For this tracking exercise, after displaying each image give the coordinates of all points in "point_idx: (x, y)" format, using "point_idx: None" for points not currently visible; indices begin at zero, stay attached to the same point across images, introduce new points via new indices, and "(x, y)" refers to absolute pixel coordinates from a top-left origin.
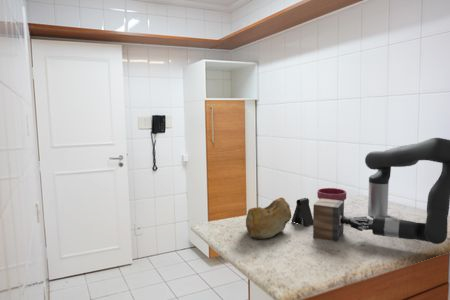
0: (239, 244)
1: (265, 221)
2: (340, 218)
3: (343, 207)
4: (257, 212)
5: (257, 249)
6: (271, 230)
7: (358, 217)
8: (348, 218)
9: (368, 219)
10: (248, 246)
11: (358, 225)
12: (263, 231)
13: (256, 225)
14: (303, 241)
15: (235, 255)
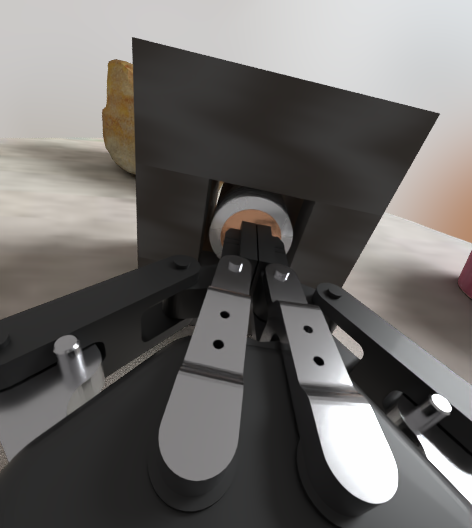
0: (85, 150)
1: (119, 112)
2: (233, 214)
3: (382, 176)
4: (108, 72)
5: (46, 160)
6: (133, 153)
7: (375, 328)
8: (270, 252)
9: (340, 497)
10: (71, 155)
11: (33, 324)
12: (111, 141)
13: (102, 114)
14: (126, 222)
15: (7, 141)
